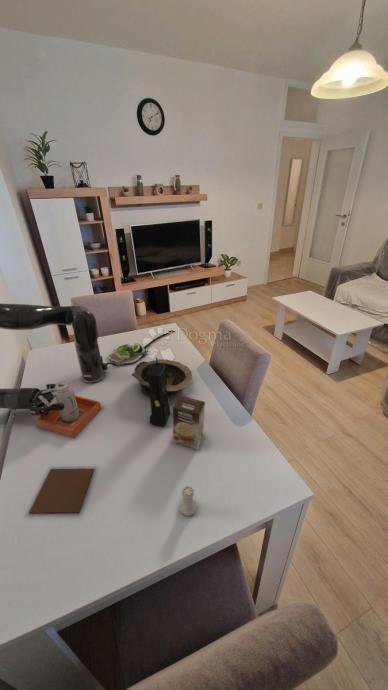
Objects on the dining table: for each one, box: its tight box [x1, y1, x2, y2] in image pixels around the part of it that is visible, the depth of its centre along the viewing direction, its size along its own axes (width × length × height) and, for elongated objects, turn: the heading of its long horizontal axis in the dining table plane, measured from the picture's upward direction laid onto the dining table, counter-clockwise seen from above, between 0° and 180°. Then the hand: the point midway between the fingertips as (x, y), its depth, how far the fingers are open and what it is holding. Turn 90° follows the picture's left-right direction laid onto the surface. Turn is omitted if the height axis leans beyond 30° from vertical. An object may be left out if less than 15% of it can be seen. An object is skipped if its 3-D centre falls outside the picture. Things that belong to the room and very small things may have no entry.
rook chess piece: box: [179, 485, 197, 517], centre depth 72 cm, size 4×4×8 cm
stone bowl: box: [131, 358, 194, 399], centre depth 118 cm, size 25×25×9 cm
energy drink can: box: [53, 380, 80, 423], centre depth 100 cm, size 6×6×15 cm
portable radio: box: [146, 357, 171, 427], centre depth 96 cm, size 8×6×25 cm
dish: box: [35, 394, 102, 439], centre depth 102 cm, size 16×16×3 cm
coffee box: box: [172, 394, 206, 451], centre depth 91 cm, size 9×6×16 cm
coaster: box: [28, 468, 95, 514], centre depth 78 cm, size 13×13×1 cm
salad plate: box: [107, 342, 149, 366], centre depth 139 cm, size 19×18×5 cm
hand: (68, 398), depth 99 cm, fingers open, 8 cm apart
